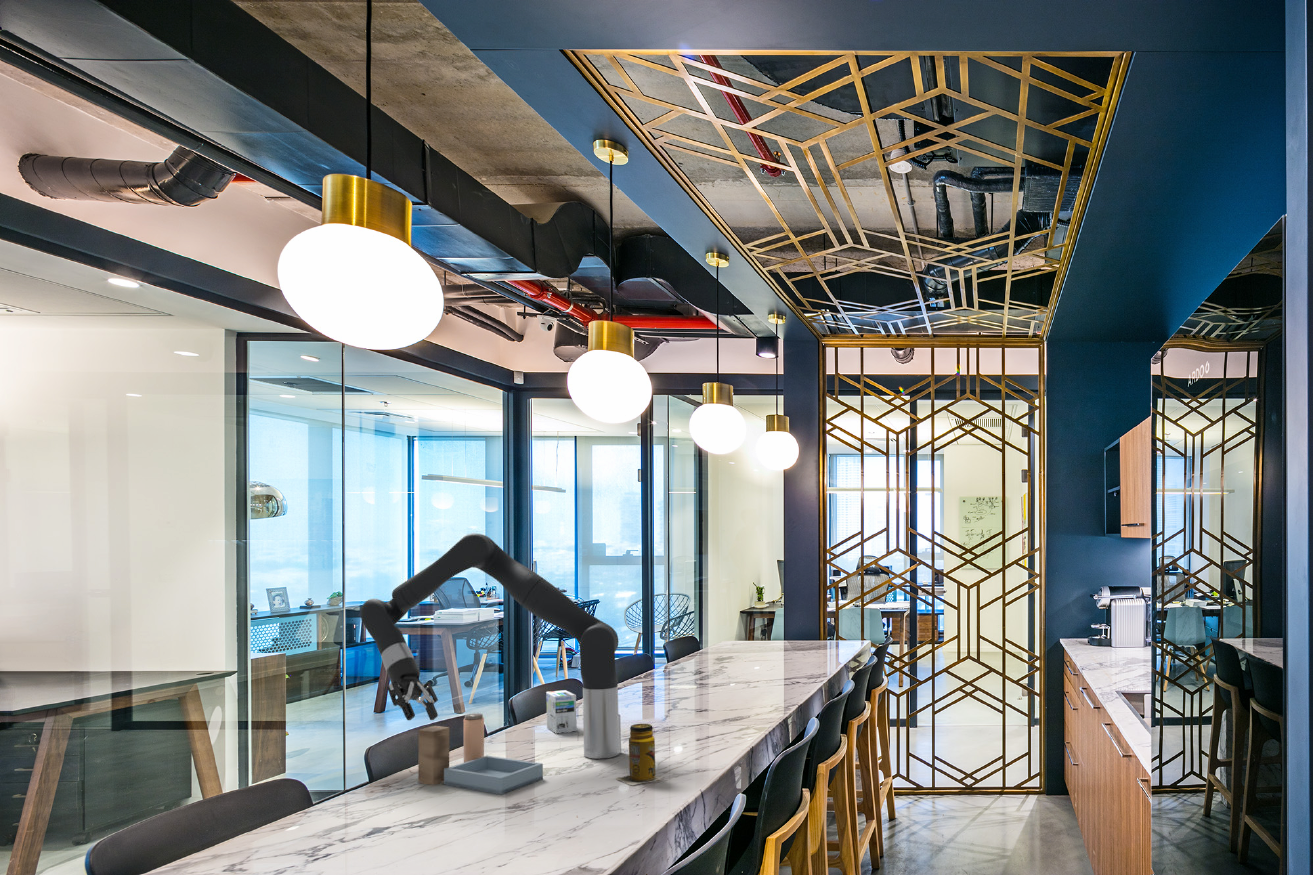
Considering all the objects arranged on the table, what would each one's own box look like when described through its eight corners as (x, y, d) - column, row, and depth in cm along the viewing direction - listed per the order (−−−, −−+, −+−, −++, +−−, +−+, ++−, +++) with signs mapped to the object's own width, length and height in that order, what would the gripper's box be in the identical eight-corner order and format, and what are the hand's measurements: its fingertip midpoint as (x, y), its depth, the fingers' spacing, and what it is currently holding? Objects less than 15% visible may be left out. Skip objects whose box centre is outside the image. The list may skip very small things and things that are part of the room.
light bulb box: (577, 732, 247) (576, 694, 249) (555, 734, 245) (554, 696, 246) (567, 725, 257) (566, 689, 258) (545, 727, 254) (545, 691, 256)
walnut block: (434, 777, 201) (434, 725, 203) (449, 779, 198) (449, 727, 200) (418, 782, 197) (418, 729, 198) (433, 785, 194) (433, 731, 196)
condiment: (663, 779, 193) (661, 725, 195) (631, 786, 188) (630, 730, 190) (645, 773, 199) (644, 720, 201) (615, 779, 194) (614, 725, 196)
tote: (487, 770, 206) (486, 755, 206) (542, 779, 196) (542, 763, 197) (444, 784, 194) (444, 768, 195) (501, 794, 185) (501, 778, 185)
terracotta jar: (473, 764, 212) (473, 712, 214) (488, 767, 209) (488, 714, 211) (459, 769, 208) (459, 716, 209) (473, 771, 205) (473, 717, 207)
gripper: (390, 654, 213) (414, 709, 205) (428, 657, 225) (451, 709, 217) (370, 672, 215) (393, 727, 207) (409, 674, 227) (431, 726, 219)
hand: (423, 718), depth 212 cm, fingers open, 8 cm apart
